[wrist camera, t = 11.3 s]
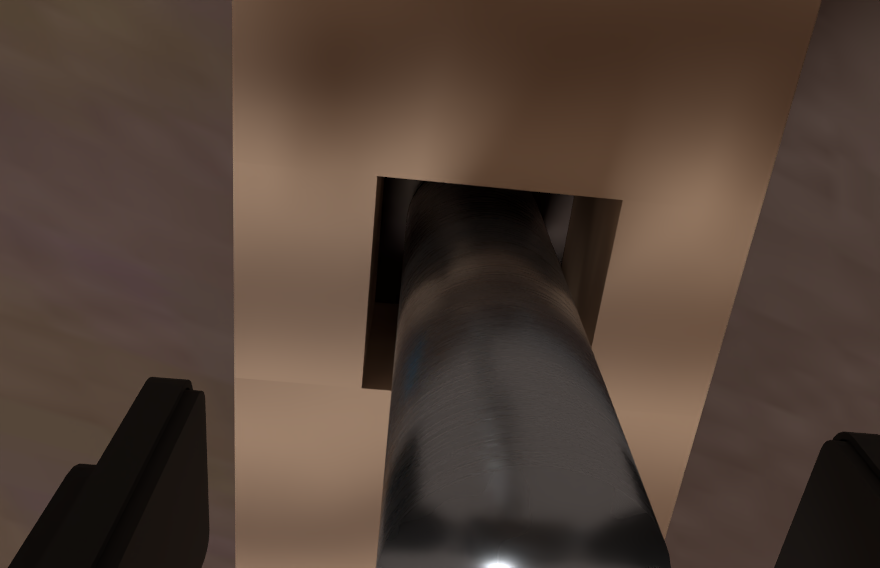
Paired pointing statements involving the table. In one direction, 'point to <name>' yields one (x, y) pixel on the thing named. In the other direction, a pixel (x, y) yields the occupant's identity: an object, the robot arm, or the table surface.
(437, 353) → the long pin
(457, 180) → the hole block
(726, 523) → the table surface
